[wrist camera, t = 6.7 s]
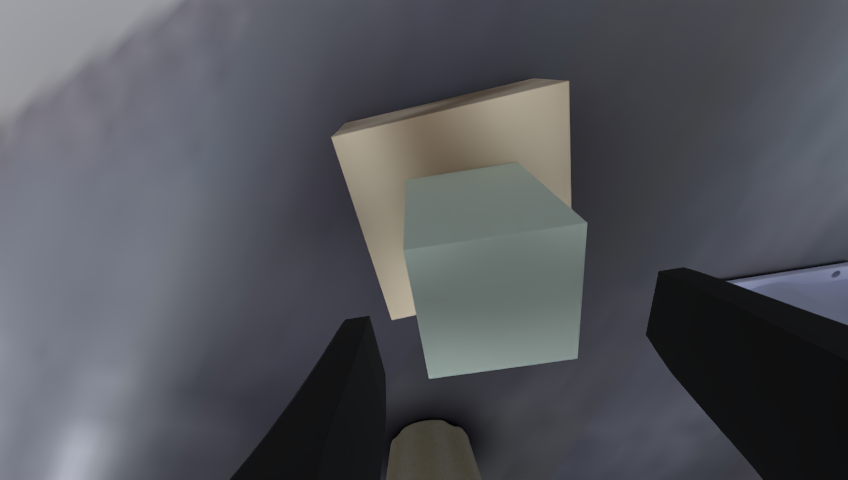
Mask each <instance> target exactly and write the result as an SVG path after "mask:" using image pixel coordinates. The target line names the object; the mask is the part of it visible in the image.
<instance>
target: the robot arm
mask: <svg viewBox="0 0 848 480" xmlns="http://www.w3.org/2000/svg"><path fill="white" fill-rule="evenodd" d="M646 335H647V337H648V339H649V340H650V342H651V343H652V345H653V346H654V348H655V349H656V351H657V353H658V354H659V356H660V357H661V358H662V360H663V361H664V363H665V364H666V366H667V367H668V369H669V370H670V371H671V373H672V374H673V375H674V376H675V377H676V379H677V380H678V381H679V382H680V383H681V385H682V386H683V387H684V388H685V389H686V390H687V392H688V393H689V394H690V395H691V396H692V397H693V399H694V400H695V401H696V402H697V403H698V404H699V406H700V407H701V408H702V409H703V410H704V411H705V412H706V414H707V415H708V416H709V417H710V418H711V419H712V420H713V422H714V423H715V424H716V425H717V426H718V427H719V428H720V430H721V431H722V432H723V433H724V434H725V435H726V437H727V438H728V439H729V440H730V441H731V442H732V443H733V445H734V446H735V447H736V448H737V449H738V450H739V451H740V453H741V454H742V455H743V456H744V457H745V458H746V459H747V461H748V462H749V463H750V464H751V465H752V466H753V468H754V469H755V470H756V471H757V473H758V474H759V475H760V476H761V478H762V479H763V480H848V262H847V263H840V264H834V265H827V266H821V267H814V268H808V269H801V270H795V271H788V272H782V273H775V274H769V275H762V276H756V277H749V278H743V279H736V280H730V281H724V280H721V279H718V278H715V277H713V276H710V275H707V274H704V273H701V272H697V271H694V270H691V269H687V268H684V267H683V268H677V269H670V270H664V271H659V273H658V278H657V283H656V288H655V293H654V297H653V302H652V307H651V312H650V317H649V322H648V327H647V332H646ZM385 421H386V382H385V371H384V368H383V364H382V360H381V357H380V353H379V349H378V346H377V342H376V338H375V335H374V331H373V327H372V324H371V320H370V316H366V317H359V318H353V319H346V320H345V321H344V322H343V323H342V325H341V326H340V328H339V329H338V331H337V332H336V334H335V336H334V337H333V339H332V340H331V342H330V344H329V345H328V347H327V348H326V350H325V352H324V353H323V355H322V356H321V358H320V359H319V361H318V362H317V364H316V365H315V367H314V368H313V370H312V371H311V373H310V374H309V376H308V377H307V379H306V380H305V382H304V383H303V385H302V386H301V388H300V389H299V391H298V392H297V393H296V395H295V396H294V398H293V399H292V401H291V402H290V403H289V405H288V406H287V407H286V409H285V410H284V411H283V413H282V414H281V415H280V417H279V418H278V419H277V421H276V422H275V423H274V425H273V426H272V427H271V429H270V430H269V432H268V433H267V434H266V436H265V437H264V438H263V439H262V441H261V442H260V443H259V444H258V446H257V447H256V448H255V449H254V451H253V452H252V453H251V454H250V456H249V457H248V458H247V459H246V461H245V462H244V463H243V464H242V465H241V467H240V468H239V469H238V470H237V471H236V473H235V474H234V475H233V476H232V477H231V478H230V480H380V475H381V465H382V454H383V443H384V432H385Z"/></svg>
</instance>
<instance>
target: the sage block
mask: <svg viewBox="0 0 848 480" xmlns="http://www.w3.org/2000/svg"><path fill="white" fill-rule="evenodd" d="M586 235H587V222H586V221H585V220H584V219H582V218H581V217H580V216H579V215H578V214H577V213H576V212H574V211H573V210H572V209H571V208H570V207H569V206H567V205H566V204H565V203H564V202H563V201H562V200H560V199H559V198H558V197H557V196H556V195H555V194H554V193H552V192H551V191H550V190H549V189H548V188H547V187H545V186H544V185H543V184H542V183H541V182H540V181H539V180H537V179H536V178H535V177H534V176H533V175H532V174H530V173H529V172H528V171H527V170H526V169H525V168H524V167H522V166H521V165H520V164H519V163H518V162H516V163H509V164H503V165H496V166H490V167H484V168H477V169H471V170H464V171H458V172H451V173H445V174H439V175H432V176H426V177H419V178H413V179H407V180H406V188H405V217H404V245H403V251H404V256H405V261H406V266H407V271H408V276H409V281H410V286H411V291H412V296H413V301H414V306H415V311H416V316H417V321H418V326H419V331H420V336H421V341H422V346H423V351H424V356H425V361H426V366H427V371H428V376H429V379H432V378H439V377H446V376H454V375H461V374H468V373H476V372H483V371H490V370H498V369H505V368H512V367H520V366H527V365H534V364H541V363H549V362H556V361H563V360H571V359H578V345H579V331H580V317H581V304H582V290H583V276H584V262H585V249H586Z"/></svg>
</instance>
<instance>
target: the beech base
mask: <svg viewBox="0 0 848 480" xmlns="http://www.w3.org/2000/svg"><path fill="white" fill-rule="evenodd" d="M331 138H332V141H333V144H334V147H335V150H336V153H337V156H338V159H339V162H340V165H341V168H342V171H343V174H344V177H345V180H346V183H347V186H348V189H349V192H350V195H351V198H352V201H353V204H354V207H355V210H356V213H357V217H358V220H359V223H360V226H361V229H362V232H363V235H364V238H365V241H366V244H367V247H368V250H369V253H370V256H371V259H372V262H373V265H374V268H375V271H376V274H377V277H378V280H379V283H380V286H381V289H382V292H383V295H384V298H385V301H386V304H387V307H388V310H389V313H390V316H391V319H392V320H394V319H399V318H404V317H408V316H413V315H416V311H415V306H414V301H413V296H412V291H411V286H410V281H409V276H408V271H407V266H406V261H405V256H404V251H403V245H404V217H405V188H406V180H407V179H413V178H419V177H426V176H432V175H439V174H445V173H451V172H458V171H464V170H471V169H477V168H484V167H490V166H496V165H503V164H509V163H516V162H518V163H519V164H520V165H521V166H522V167H524V168H525V169H526V170H527V171H528V172H529V173H530V174H532V175H533V176H534V177H535V178H536V179H537V180H539V181H540V182H541V183H542V184H543V185H544V186H545V187H547V188H548V189H549V190H550V191H551V192H552V193H554V194H555V195H556V196H557V197H558V198H559V199H560V200H562V201H563V202H564V203H565V204H566V205H567V206H569V207H570V208H571V163H570V107H569V81H564V80H551V79H538V78H533V79H529V80H524V81H520V82H516V83H512V84H508V85H503V86H499V87H495V88H491V89H487V90H482V91H478V92H474V93H470V94H466V95H461V96H457V97H453V98H449V99H445V100H440V101H436V102H432V103H428V104H424V105H419V106H415V107H411V108H407V109H402V110H398V111H394V112H390V113H386V114H381V115H377V116H373V117H369V118H365V119H360V120H356V121H352V122H348V123H345V124H344V125H343V126H342V127H341V128H340V129H339V130H338V131H337V132H336V133H335V134H334V135H333V136H332V137H331Z"/></svg>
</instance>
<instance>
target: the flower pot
mask: <svg viewBox="0 0 848 480" xmlns="http://www.w3.org/2000/svg"><path fill="white" fill-rule="evenodd" d="M386 480H482V478H481V475H480V472H479V469H478V466H477V463H476V460H475V457H474V454H473V451H472V448H471V445H470V442H469V439H468V436H467V434H466V433H465V432H464V430H463V429H462V428H461V427H458V426H457V427H454V426H452V425H450V424H448V423H447V422H445V421H443V420H426V421H420V422H416V423H413V424H411V425H408V426H406V427H405V428H404V429H403V430H402V431H401V432H400V434H399V435H398V436H397V437H396V438H395V439H393V441H392V443H391V447H390V455H389V463H388V469H387V476H386Z"/></svg>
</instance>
